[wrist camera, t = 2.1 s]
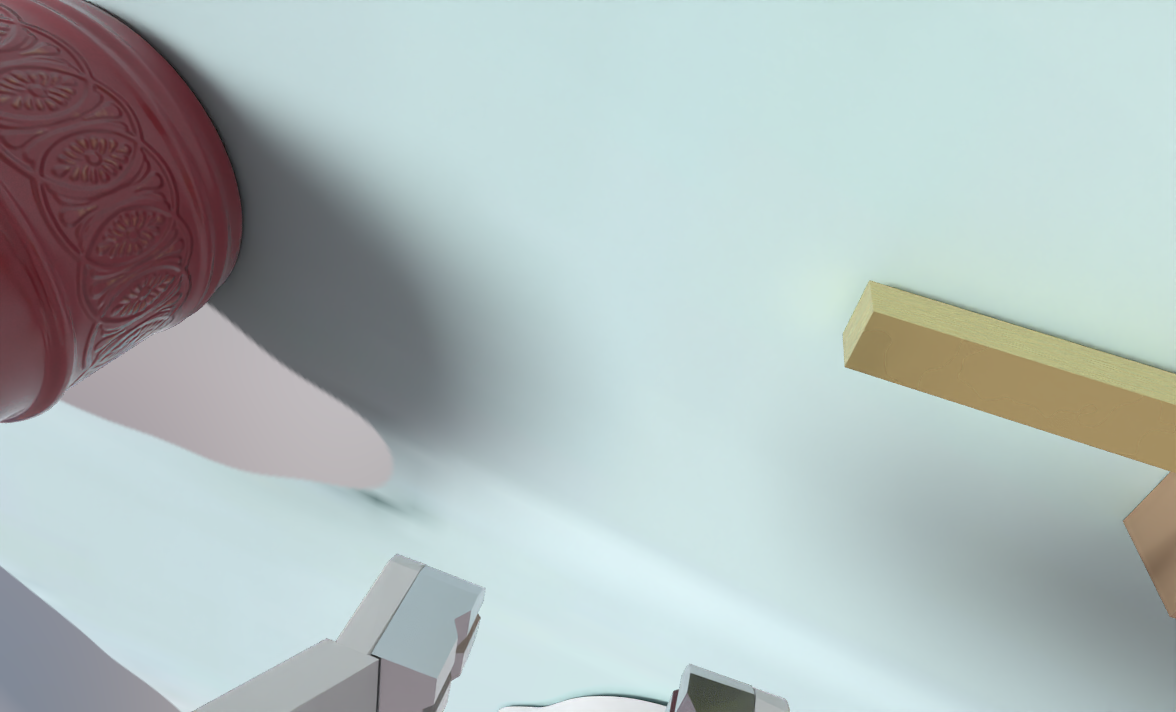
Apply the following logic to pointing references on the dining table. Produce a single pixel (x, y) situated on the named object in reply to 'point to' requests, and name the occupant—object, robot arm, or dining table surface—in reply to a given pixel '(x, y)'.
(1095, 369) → the tan wooden bar
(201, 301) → the canister
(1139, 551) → the socket block
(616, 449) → the dining table surface
